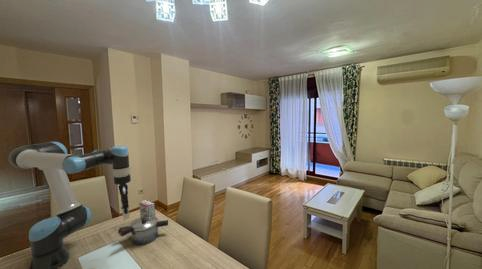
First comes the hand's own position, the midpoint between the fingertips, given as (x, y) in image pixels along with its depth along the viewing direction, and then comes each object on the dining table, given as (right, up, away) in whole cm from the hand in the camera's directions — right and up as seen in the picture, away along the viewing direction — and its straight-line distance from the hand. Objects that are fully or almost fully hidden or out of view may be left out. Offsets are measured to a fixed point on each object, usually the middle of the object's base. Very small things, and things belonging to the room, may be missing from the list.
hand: (126, 216), depth 105 cm
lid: (0, -12, +14) cm, 18 cm away
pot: (+2, -21, +17) cm, 27 cm away
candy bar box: (-3, -19, +32) cm, 37 cm away
